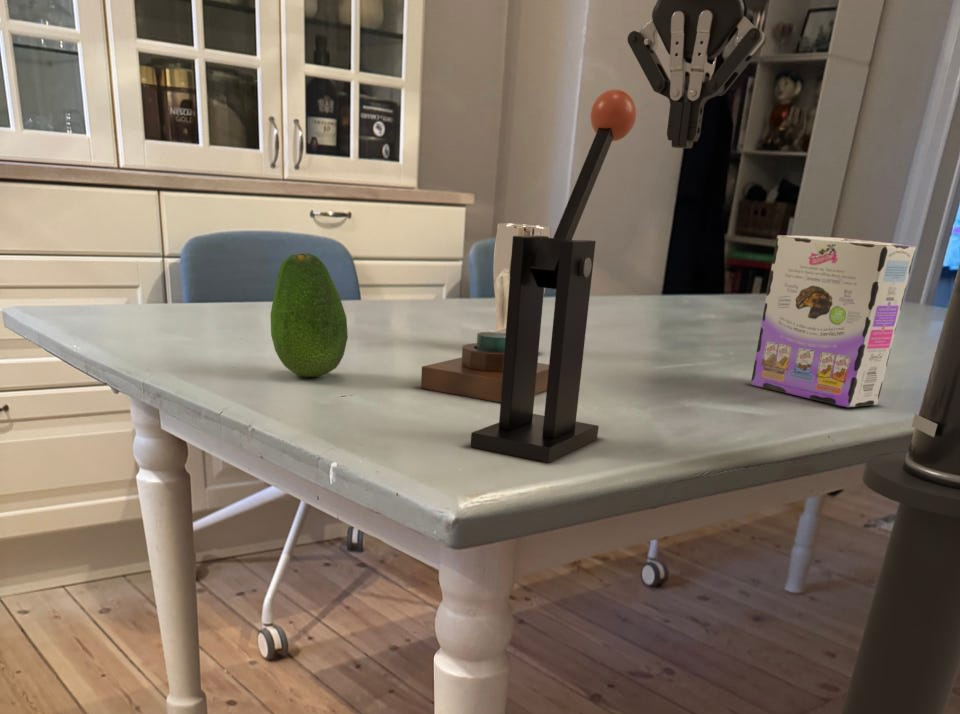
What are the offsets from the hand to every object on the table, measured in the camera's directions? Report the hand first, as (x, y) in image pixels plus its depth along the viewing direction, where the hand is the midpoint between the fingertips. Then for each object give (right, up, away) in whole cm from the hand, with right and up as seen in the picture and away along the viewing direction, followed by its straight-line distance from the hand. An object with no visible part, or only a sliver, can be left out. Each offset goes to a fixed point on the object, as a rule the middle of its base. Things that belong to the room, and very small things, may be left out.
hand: (682, 147), depth 89 cm
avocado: (-37, -20, +8) cm, 43 cm away
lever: (-11, -12, -14) cm, 21 cm away
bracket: (-15, -31, -11) cm, 36 cm away
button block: (-18, -20, +9) cm, 29 cm away
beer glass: (-15, -10, +31) cm, 36 cm away
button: (-18, -17, +8) cm, 26 cm away
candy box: (+19, -19, +17) cm, 32 cm away
